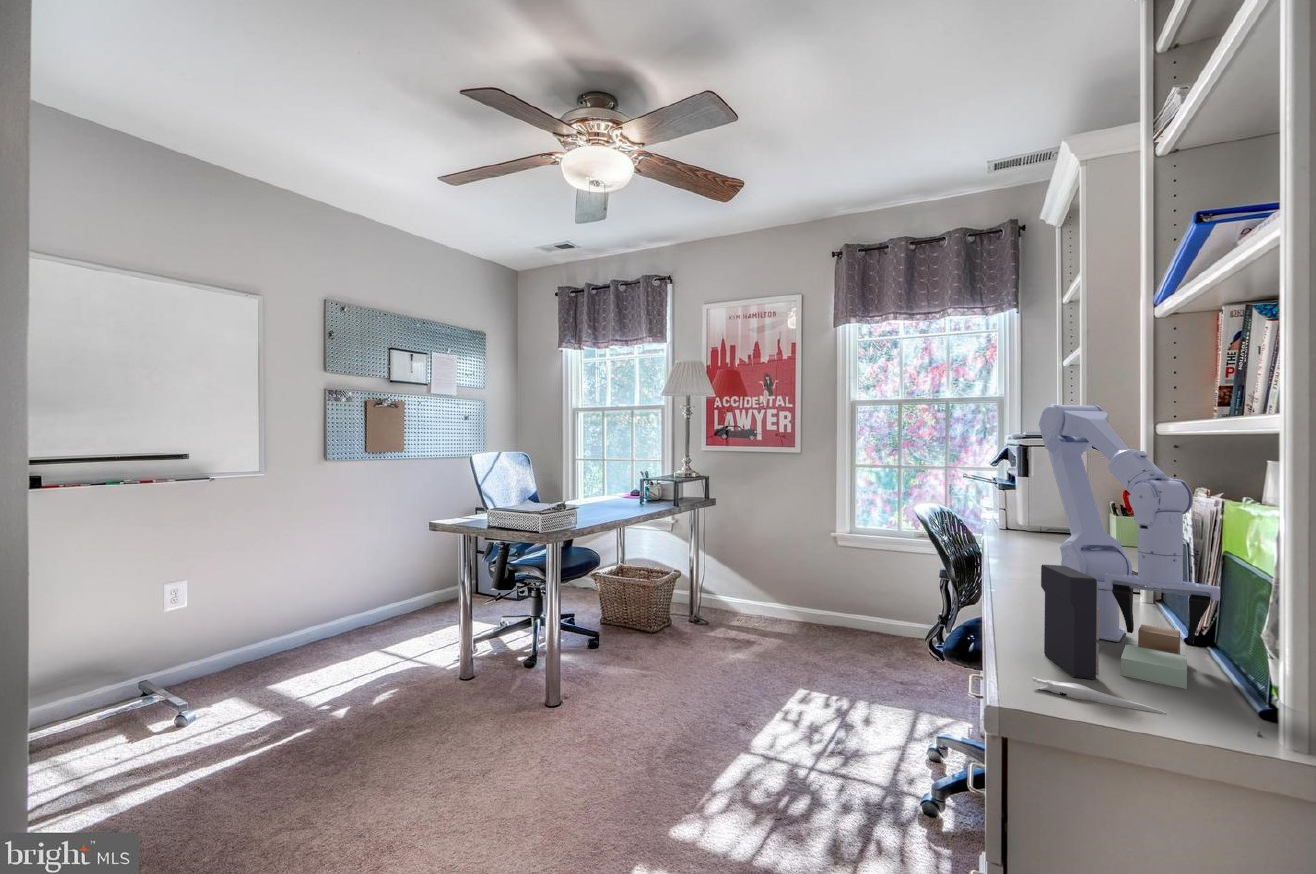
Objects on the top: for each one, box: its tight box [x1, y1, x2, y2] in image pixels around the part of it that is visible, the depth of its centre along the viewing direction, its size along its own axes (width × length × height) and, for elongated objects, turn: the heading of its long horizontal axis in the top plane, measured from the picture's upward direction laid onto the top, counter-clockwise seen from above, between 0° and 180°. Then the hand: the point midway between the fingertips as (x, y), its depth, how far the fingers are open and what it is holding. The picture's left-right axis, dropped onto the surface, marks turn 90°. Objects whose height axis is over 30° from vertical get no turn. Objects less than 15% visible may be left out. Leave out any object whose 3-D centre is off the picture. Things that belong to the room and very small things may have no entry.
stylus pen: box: [1031, 676, 1168, 715], centre depth 84 cm, size 15×3×2 cm, turn 57°
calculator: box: [1040, 564, 1100, 680], centre depth 97 cm, size 11×4×15 cm, turn 168°
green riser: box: [1120, 644, 1188, 690], centre depth 95 cm, size 9×8×3 cm
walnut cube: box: [1137, 624, 1181, 655], centre depth 101 cm, size 5×5×5 cm
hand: (1159, 636), depth 101 cm, fingers open, 7 cm apart
